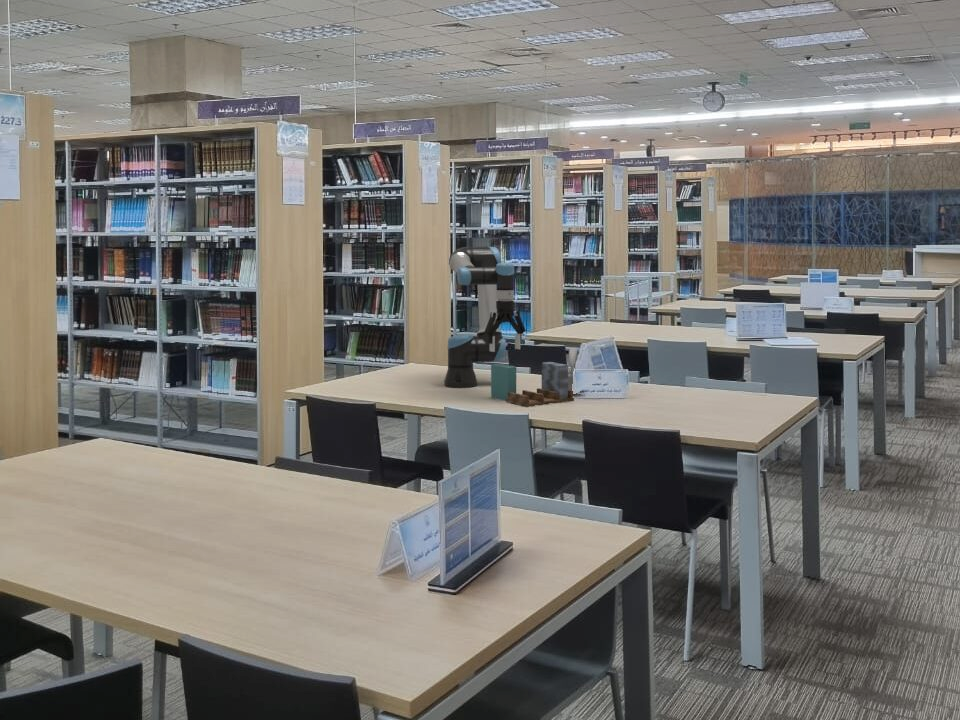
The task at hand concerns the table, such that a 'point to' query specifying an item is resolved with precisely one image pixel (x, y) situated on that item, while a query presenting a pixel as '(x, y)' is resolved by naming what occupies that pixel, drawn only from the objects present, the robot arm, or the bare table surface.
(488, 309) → the robot arm
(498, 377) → the book block
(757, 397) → the table surface
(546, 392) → the rack
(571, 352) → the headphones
